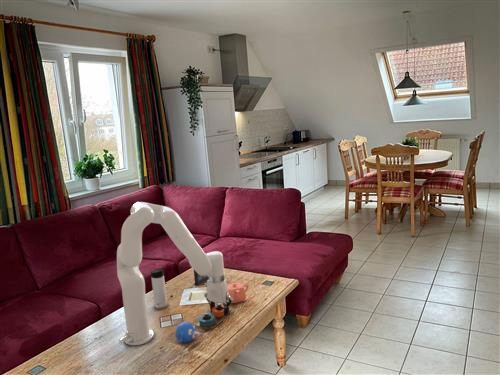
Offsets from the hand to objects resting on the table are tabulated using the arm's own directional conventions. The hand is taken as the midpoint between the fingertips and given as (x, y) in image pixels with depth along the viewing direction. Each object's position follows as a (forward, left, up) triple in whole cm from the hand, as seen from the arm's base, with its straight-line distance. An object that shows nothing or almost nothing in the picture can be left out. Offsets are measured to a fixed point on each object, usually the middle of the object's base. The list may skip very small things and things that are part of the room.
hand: (219, 312), depth 202 cm
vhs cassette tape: (+33, +33, -2) cm, 47 cm away
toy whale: (-25, -2, -2) cm, 25 cm away
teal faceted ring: (-10, 0, 0) cm, 10 cm away
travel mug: (-5, +33, -2) cm, 33 cm away
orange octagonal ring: (0, 0, 0) cm, 0 cm away
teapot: (+16, +1, -2) cm, 16 cm away
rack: (-5, 0, -1) cm, 5 cm away
